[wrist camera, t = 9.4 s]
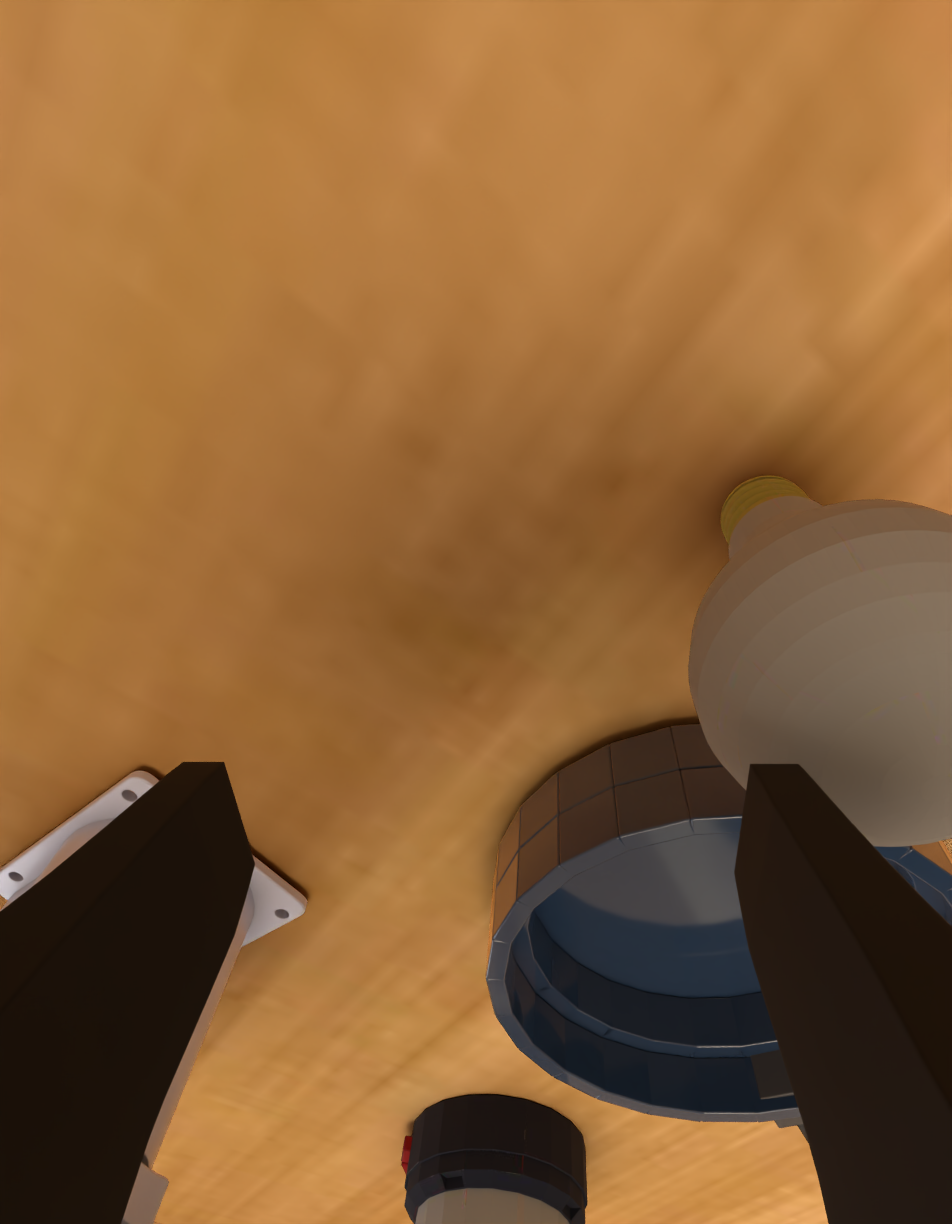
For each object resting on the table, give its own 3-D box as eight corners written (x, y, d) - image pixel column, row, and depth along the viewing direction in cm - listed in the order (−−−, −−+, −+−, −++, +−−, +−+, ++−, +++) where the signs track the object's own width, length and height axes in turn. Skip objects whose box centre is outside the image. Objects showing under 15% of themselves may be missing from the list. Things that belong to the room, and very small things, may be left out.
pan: (642, 1049, 30) (654, 1160, 27) (411, 842, 25) (389, 946, 22) (1004, 923, 25) (1077, 1042, 21) (798, 632, 20) (849, 725, 17)
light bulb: (770, 342, 17) (1009, 517, 8) (923, 494, 18) (1267, 782, 9) (599, 515, 19) (640, 794, 10) (745, 637, 20) (889, 973, 12)
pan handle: (748, 1051, 26) (759, 1099, 25) (817, 1037, 26) (832, 1085, 24) (823, 1169, 30) (837, 1217, 29) (886, 1160, 29) (902, 1208, 28)
